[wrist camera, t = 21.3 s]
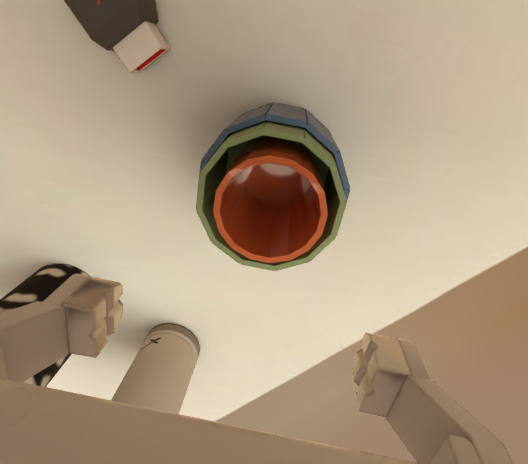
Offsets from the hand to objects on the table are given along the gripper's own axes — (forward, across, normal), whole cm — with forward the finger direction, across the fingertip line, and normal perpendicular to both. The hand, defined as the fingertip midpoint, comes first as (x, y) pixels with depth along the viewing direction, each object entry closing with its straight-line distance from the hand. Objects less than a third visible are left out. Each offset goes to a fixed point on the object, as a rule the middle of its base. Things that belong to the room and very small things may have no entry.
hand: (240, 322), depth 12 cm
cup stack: (+21, 0, 0) cm, 21 cm away
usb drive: (+22, +15, -11) cm, 28 cm away
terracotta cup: (+19, 0, 0) cm, 19 cm away
